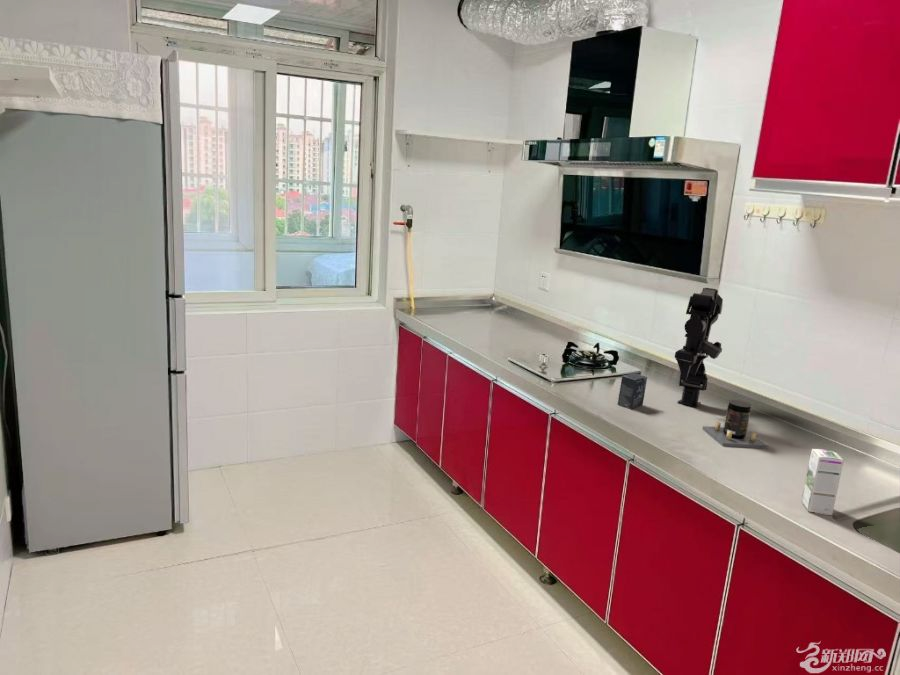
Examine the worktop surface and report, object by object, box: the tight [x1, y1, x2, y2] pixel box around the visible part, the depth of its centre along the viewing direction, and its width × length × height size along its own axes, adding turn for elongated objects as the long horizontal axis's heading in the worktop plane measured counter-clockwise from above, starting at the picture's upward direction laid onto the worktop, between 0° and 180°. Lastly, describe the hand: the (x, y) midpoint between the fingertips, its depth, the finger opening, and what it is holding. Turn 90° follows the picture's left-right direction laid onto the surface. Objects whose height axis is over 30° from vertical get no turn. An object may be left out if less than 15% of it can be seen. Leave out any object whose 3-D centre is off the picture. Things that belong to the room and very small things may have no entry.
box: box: [617, 372, 648, 410], centre depth 238 cm, size 8×6×11 cm
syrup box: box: [800, 448, 844, 516], centre depth 168 cm, size 6×6×14 cm
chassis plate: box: [702, 421, 768, 449], centre depth 214 cm, size 14×14×4 cm
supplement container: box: [723, 399, 753, 439], centre depth 213 cm, size 7×7×10 cm
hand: (688, 377), depth 231 cm, fingers open, 9 cm apart
